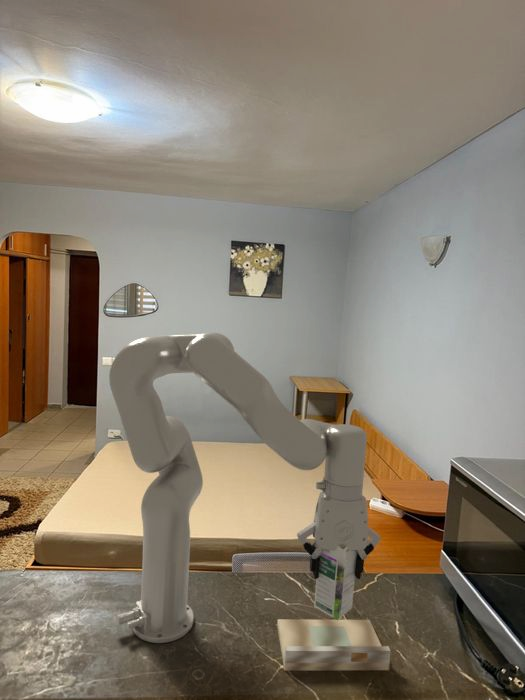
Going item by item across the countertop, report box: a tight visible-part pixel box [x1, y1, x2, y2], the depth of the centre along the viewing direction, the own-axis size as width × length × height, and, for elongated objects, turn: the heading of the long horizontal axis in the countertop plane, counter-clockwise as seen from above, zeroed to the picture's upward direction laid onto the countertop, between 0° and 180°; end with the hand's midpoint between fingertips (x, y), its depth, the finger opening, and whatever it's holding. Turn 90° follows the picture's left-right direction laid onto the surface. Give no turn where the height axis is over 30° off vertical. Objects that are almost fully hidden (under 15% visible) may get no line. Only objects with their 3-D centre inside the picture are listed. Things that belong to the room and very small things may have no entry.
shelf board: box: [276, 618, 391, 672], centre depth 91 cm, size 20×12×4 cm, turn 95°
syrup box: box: [313, 546, 357, 620], centre depth 90 cm, size 6×6×14 cm
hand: (335, 574), depth 90 cm, fingers closed on syrup box, 7 cm apart
